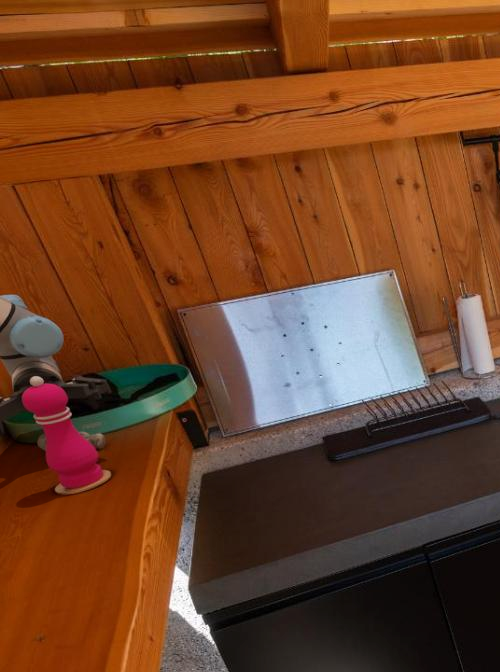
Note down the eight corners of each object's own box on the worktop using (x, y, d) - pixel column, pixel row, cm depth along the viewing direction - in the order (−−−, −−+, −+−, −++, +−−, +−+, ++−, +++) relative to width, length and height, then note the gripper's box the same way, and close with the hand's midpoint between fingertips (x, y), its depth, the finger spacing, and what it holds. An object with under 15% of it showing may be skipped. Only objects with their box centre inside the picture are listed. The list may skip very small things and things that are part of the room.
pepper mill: (48, 487, 135) (-4, 383, 126) (85, 468, 142) (38, 367, 132) (80, 491, 134) (29, 385, 124) (116, 472, 140) (71, 370, 131)
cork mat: (44, 496, 134) (43, 494, 134) (77, 473, 142) (76, 471, 142) (91, 492, 134) (90, 490, 134) (121, 469, 142) (120, 467, 141)
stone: (115, 448, 153) (94, 417, 154) (102, 438, 148) (80, 406, 149) (62, 474, 149) (41, 442, 150) (47, 465, 144) (25, 432, 145)
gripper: (122, 383, 155) (138, 410, 141) (-34, 425, 141) (-34, 460, 127) (105, 348, 152) (120, 372, 137) (-56, 388, 138) (-60, 419, 123)
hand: (46, 414), depth 132 cm, fingers open, 13 cm apart
